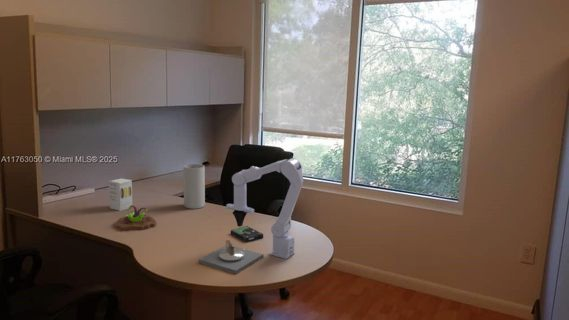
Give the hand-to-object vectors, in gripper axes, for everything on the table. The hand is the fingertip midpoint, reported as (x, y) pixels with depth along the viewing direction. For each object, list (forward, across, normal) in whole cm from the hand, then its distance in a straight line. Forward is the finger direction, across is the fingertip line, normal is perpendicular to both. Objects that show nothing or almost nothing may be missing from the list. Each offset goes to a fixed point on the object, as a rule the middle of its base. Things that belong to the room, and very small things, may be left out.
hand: (239, 225), depth 204 cm
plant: (+11, +64, +6) cm, 65 cm away
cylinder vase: (+11, +62, -37) cm, 73 cm away
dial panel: (+10, -6, +14) cm, 18 cm away
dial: (+9, -5, +13) cm, 16 cm away
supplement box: (+11, +94, -9) cm, 95 cm away
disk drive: (+11, +6, -14) cm, 19 cm away
